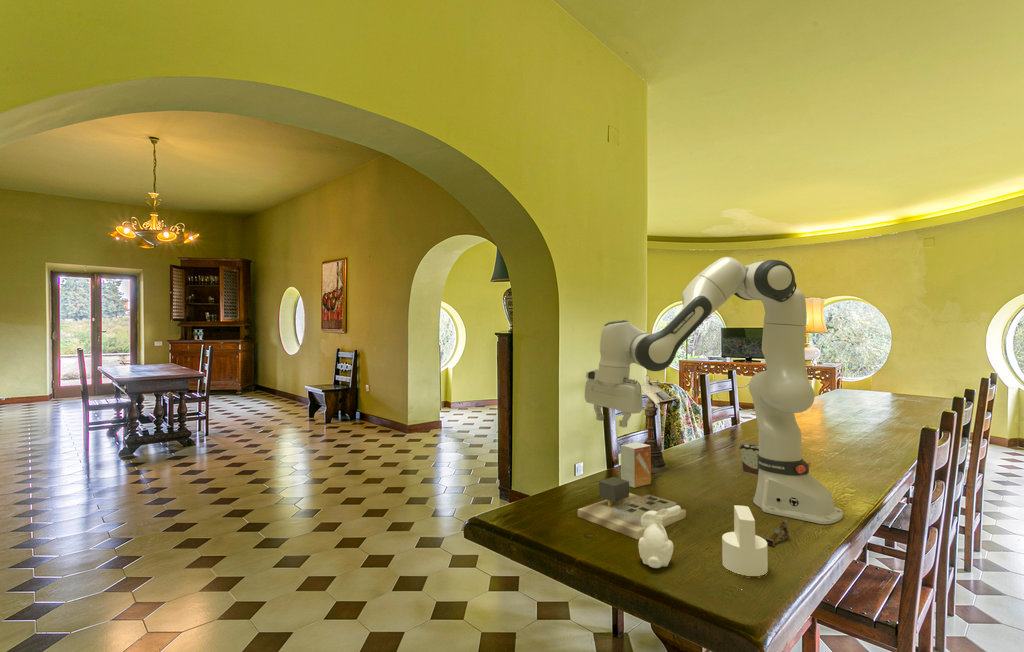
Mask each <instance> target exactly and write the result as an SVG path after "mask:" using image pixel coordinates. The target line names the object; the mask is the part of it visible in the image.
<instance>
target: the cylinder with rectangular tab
mask: <svg viewBox="0 0 1024 652" xmlns="http://www.w3.org/2000/svg"><path fill="white" fill-rule="evenodd" d="M733 523H734V524H733V527H734V528H733V529H734V531H729V532H726V533H723V534H722V537H721V542H722V545H721V547H722V548H721V551H722V552H721V553H722V558H721V559H722V566H724V567H725V568H726V569H728V570H730V571H732V572H734V573H737V574H741V575H746V576H760V575H764V574H766V573H767V572H768V571H769V570H768V568H769V567H768V563H769V562H768V558H769V557H768V544H767V542H766V540H765V539H764V538H763V537H761V536H759V535H757V534H756V520H755V518H754V515H753V513H752V511H751V509H750V507H749V506H746V505H733ZM724 567H723V568H724ZM725 568H724V569H725ZM726 569H725V570H726ZM728 570H727V571H728ZM734 573H733V574H734ZM767 574H768V573H767ZM767 574H766V575H767Z"/></svg>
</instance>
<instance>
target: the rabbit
mask: <svg viewBox="0 0 1024 652" xmlns="http://www.w3.org/2000/svg"><path fill="white" fill-rule="evenodd" d="M681 509H682V508H681V505H677V504H676V506H674V507H671V508H668V509H661V510H659V511H658V512H656V511H648V512H646V513H644V514H643V515H642V517H641V524H642V525H644V526H646V528H645V530H644V535H643V537H641V538H640V539H638V543H637V544H638V545H637V548H638V553H639V557H640V558H641V561H642V563H643V564H644V565H647V566H648V567H651V568H653V569H660V568H663V567H668V566H669V563H670V562H671V559H672V557H673V552H674V543H673V541H672V540H670V539H669V537H668V534H667V531H666V530H667V529H665V528H666V527H663V526H662V518H665V517H669V516H675V515H678V514H679V513H680V512H681Z"/></svg>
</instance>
